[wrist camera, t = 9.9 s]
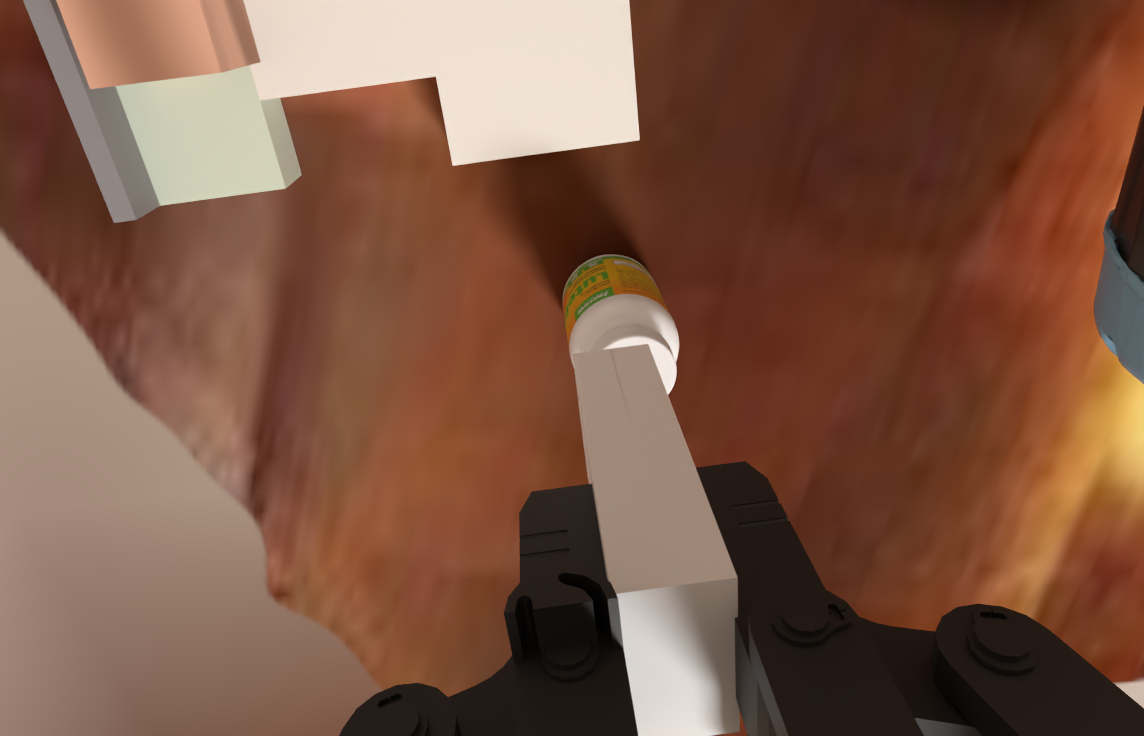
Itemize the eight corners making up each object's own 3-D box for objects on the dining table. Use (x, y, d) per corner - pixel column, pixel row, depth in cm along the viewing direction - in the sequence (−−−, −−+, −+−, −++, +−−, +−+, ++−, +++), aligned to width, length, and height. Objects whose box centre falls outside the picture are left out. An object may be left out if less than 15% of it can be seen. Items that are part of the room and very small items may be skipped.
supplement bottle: (593, 234, 41) (615, 299, 32) (674, 280, 42) (715, 354, 33) (544, 314, 42) (552, 396, 34) (623, 355, 44) (649, 443, 35)
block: (224, -69, 31) (174, -79, 26) (260, 61, 33) (220, 72, 28) (102, -53, 31) (32, -62, 26) (147, 76, 33) (90, 89, 28)
